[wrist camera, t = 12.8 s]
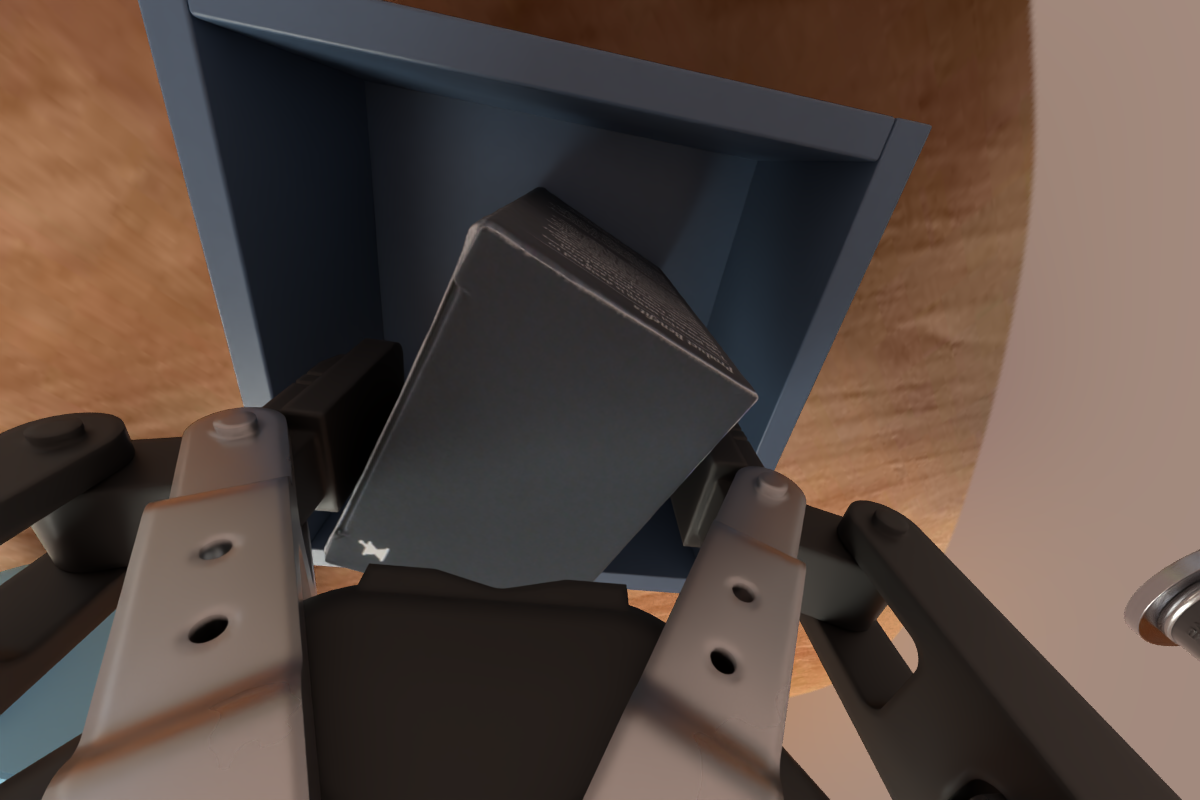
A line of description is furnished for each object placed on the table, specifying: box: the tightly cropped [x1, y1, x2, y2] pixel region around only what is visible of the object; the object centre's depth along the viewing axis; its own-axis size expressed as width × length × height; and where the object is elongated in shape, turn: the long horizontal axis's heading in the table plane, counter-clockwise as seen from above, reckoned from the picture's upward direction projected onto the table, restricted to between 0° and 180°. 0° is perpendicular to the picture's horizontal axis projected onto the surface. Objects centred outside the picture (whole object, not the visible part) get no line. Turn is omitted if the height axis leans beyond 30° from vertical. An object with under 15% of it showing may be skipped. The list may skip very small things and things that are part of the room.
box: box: [324, 187, 758, 589], centre depth 13 cm, size 8×6×11 cm
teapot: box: [0, 564, 116, 784], centre depth 21 cm, size 13×14×11 cm
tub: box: [138, 0, 932, 593], centre depth 15 cm, size 15×15×8 cm
